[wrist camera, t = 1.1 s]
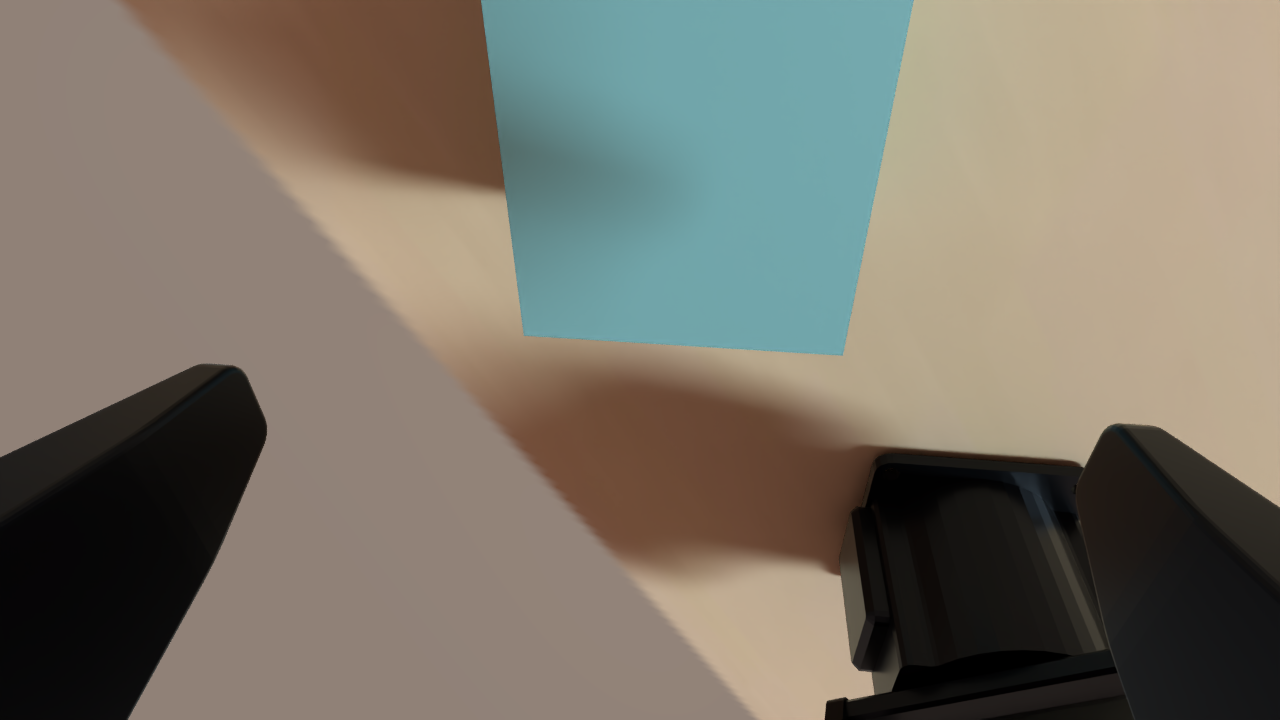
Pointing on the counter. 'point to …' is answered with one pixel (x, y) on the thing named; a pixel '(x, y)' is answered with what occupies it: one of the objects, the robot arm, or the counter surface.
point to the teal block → (692, 164)
